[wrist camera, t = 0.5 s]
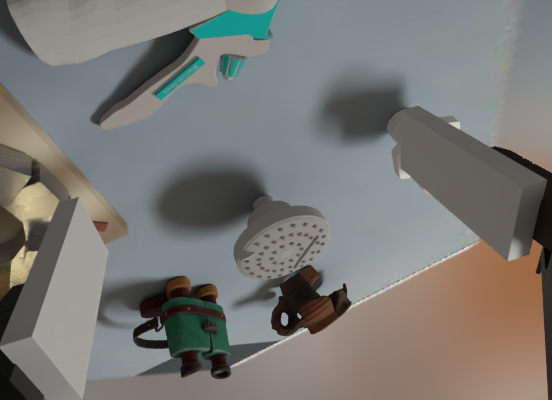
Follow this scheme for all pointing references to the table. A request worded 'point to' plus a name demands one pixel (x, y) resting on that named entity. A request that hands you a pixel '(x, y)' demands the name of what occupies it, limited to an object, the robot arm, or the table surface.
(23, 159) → the block ring with board
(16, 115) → the base
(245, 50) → the garden hose nozzle
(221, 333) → the binoculars
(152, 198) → the table surface
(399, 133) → the pipe fitting
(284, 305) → the brown leather pouch
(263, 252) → the showerhead
